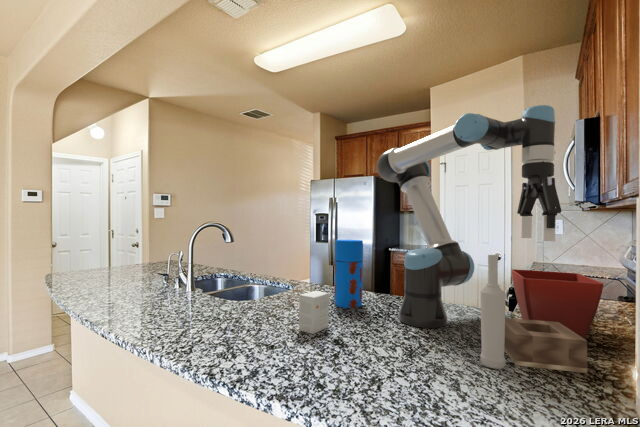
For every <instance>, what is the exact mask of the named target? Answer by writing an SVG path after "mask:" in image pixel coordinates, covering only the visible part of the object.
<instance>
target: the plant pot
mask: <svg viewBox="0 0 640 427" xmlns="http://www.w3.org/2000/svg"><path fill="white" fill-rule="evenodd" d="M511 277H512V284H513V288H514V292H515V293H514V294H515V297H516V301H517V305H518V308H519V310H520V311H519V312H520V315H521V319H526V320H538V321H551V322H559V323H561V324H562V325H564V326H565V327H567V328H568V329H570V330H571V331H573V332H574V333H576V334H578V335H579V336H581V337H582V338H584V339H585V338H586V336H587V334H588V333H589V331H590V329H591V327H592V324H593V322H594V320H595V316H596V314H597V311H598V308H599V306H600V301H601V299H602V298H601V297H602V293H603V291H604V290H603V289H604V283H603V282H602V281H598V280H596V279H594V278H591V277H588V276H587V275H584V274H581V273H575V272H564V271H563V272H560V271H549V270H548V271H546V270H544V271H543V270H534V269H533V270H532V269H511Z"/></svg>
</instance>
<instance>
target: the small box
mask: <svg viewBox="0 0 640 427" xmlns="http://www.w3.org/2000/svg"><path fill="white" fill-rule="evenodd" d="M298 298H299V299H298V300H299V301H298V302H299V303H298V304H299V305H298V306H299V307H298V308H299V312H298V330H299V332H303V333H308V334H310V335H311V334H312V335H315V334H316V333H319V332H321V331H323V330H325V329H327V328H329V320H330V319H329V318H330V316H329V315H330V311H329V310H330V293H329V292H324V291H319V290H312V291H309V292H305V293H303V294H299V296H298Z"/></svg>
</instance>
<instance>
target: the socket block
mask: <svg viewBox="0 0 640 427" xmlns="http://www.w3.org/2000/svg"><path fill="white" fill-rule="evenodd" d="M504 353H506V355H507V356H508V357H509V359H510V360H511V362H513V364H514V365H515V366H519V367H530V368H536V369H537V368H538V369H545V370H546V369H547V370H557V371H565V372H566V371H567V372H574V373H583V374H588V340H587V339H585V338H582V337H581V336H579V335H578V334H576V333H574V332H573V331H571V330H570V329H568V328H567V327H565V326H564V325H562V324H561V323H559V322H551V321H538V320H526V319H523V318H511V317H510V318H509V317H505V342H504Z"/></svg>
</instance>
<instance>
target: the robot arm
mask: <svg viewBox="0 0 640 427" xmlns="http://www.w3.org/2000/svg"><path fill="white" fill-rule="evenodd" d="M555 115H556V114H555V109H554V107H552V106H551V105H548V104H547V105H546V104H541V105H540V104H539V105H538V104H537V105H533V106H530V107H527V108H525V109H524V110H523V111H522V115H521V118H518V119H515V120H510V121H501V120H498V119H494V118H491V117H488V116H486V115H483V114H480V113H471V112H468V113H464V114H463V115H461V116H460V117H459V118H458V119H457V120H456V122H455V124H453V125H451V126H449V127H447V128H444V129H442V130H439V131H437V132H435V133H433V134H430V135H428V136H425V137H423V138H421V139H418V140H416V141H414V142H412V143H409V144H406V145H405V146H402V147H393V148H391V149H388V150H387V151H385V152H383V153H382V154H380V156H379V157H378V160H377V162H376V171H377V173H378V176H380V177H381V179H383V180H385V181H387V182H390V183H396V184H398V185H399V188H400V190H401V192H402V193H405V194H406V196H407V198H408V201H409V202H410V205H411V207H412V210H413V213H414V215H415V218H416V220H417V222H418V226H419V227H420V230H421V232H422V235H423V238H424V240H425V243H426V245H427V248H426V247H425V248H424V247H423V248H416V249H411V250H408V251H407V252H406V253H405V256H404V263H403V266H404V296H403V298H402V302H401V305H400V309H399V311H398V320H399V321H400V322H401V323H403V324H405V325H408V326H412V327H417V328H426V329H431V328H432V329H436V328H442V327H446V326H447V325H448V315H447V312H446V309H445V306H444V302H443V300H442V290H443V287H450V286H454V287H455V286H456V287H457V286H460V285H462V284H463V285H464V284H466V283H467V282H469V281H470V280H471V279H472V278H473V274H474V272H475V263H474V262H475V261H474V259H473V257H472V256H471V255H470V254H469V253H468V252H466V251H463V250H462V248H461V246H460V244H459V242H458V241H456V240H453V239H452V237H451V235H450V232H449V231H448V228H447V226H446V224H445V221H444V219H443V217H442V215H441V214H442V213H440V210H439V208H438V207H439V206H438V205H437V203H436V200H435V198H434V196H433V193H432V192H431V189H430V187H429V184H430V178H431V172H432V170H431V165H430V163H429V161H430V160H433V159H437V158H438V157H442V156H444V155H447V154H450V153H453V152H455V151H459V150H462V149H464V148H467V147H470V146H473V145H476V144H478V145H480V146H481V147H483V149H484V150H485V151H491V150H492V151H497V150H502V149H506V148H511V147H517V146H521V163H522V166H521V177H522V178H523V179H527V182H523V183H522V184H521V194H520V198H519V201H518V202H519V203H518V207H517V212H516V214H517V215H519V216H520V236H519V238H520V239H533V238H532V237H533V236H532V234H533V232H532V230H533V228H532V227H533V225H532V224H533V220H532V219H533V216H534V215H533V213H532V211H533V208H534V206H535V203H536V200H538V202H539V204H540V206H541V208H542V213H541V216H542V220H541V221H542V224H541V225H542V227H541V230H542V231H541V233H542V234H541V241H542V242H556V225H557V223H556V218H557V216H558V214H561V213H562V208H561V207H562V206H561V204H560V199H559V196H558V192H557V187H556V178H555V177H554V175H555V163H554V162H553V161H554V160H555V154H556V151H555V131H556V130H555V129H556V127H555V126H556V119H555V118H556V116H555Z"/></svg>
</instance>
